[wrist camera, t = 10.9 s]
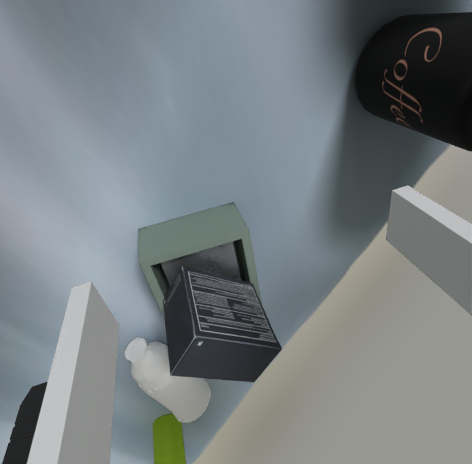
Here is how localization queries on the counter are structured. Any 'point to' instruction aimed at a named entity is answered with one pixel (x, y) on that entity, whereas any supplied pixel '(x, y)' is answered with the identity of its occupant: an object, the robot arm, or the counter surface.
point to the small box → (216, 328)
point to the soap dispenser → (168, 441)
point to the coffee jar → (421, 75)
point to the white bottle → (166, 380)
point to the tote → (194, 244)
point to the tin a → (205, 262)
